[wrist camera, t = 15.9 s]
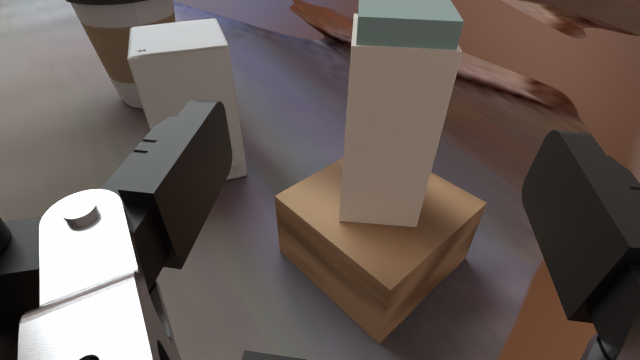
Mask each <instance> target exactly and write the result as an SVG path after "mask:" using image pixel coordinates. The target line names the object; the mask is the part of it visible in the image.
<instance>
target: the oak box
mask: <svg viewBox="0 0 640 360" xmlns="http://www.w3.org/2000/svg"><path fill="white" fill-rule="evenodd" d="M342 171H343V158H341V159H340V160H338V161H336V162H334V163H333V164H331V165H329V166H327V167H325V168H324V169H322V170H320V171H318V172H317V173H315V174H313V175H311V176H309V177H308V178H306V179H304V180H302V181H301V182H299V183H297V184H295V185H293V186H292V187H290V188H288V189H286V190H285V191H283V192H281V193H279V194H277V195H276V196H275V204H276V215H277V225H278V235H279V246H280V252H281V253H282V254H283V255H284V256H286V257H287V258H288V259H289V260H290V261H291V262H292V263H293V264H294V265H295V266H296V267H297V268H298V269H299V270H300V271H301V272H302V273H304V274H305V275H306V276H307V277H308V278H309V279H310V280H311V281H312V282H313V283H314V284H315V285H316V286H317V287H318V288H319V289H321V290H322V291H323V292H324V293H325V294H326V295H327V296H328V297H329V298H330V299H331V300H332V301H333V302H334V303H335V304H336V305H338V306H339V307H340V308H341V309H342V310H343V311H344V312H345V313H346V314H347V315H348V316H349V317H350V318H351V319H352V320H353V321H355V322H356V323H357V324H358V325H359V326H360V327H361V328H362V329H363V330H364V331H365V332H366V333H367V334H368V335H369V336H370V337H372V338H373V339H374V340H375V341H376V342H377V343H378V344H380V343H381V342H382V341H383V340H384V339H385V338H386V337H387V336H388V335H389V334H390V333H391V332H392V331H393V330H394V329H395V328H396V327H397V326H398V325H399V324H400V323H401V322H402V321H403V320H404V319H405V318H406V317H407V316H408V315H409V314H410V313H411V312H412V311H413V310H414V309H415V308H416V307H417V306H418V305H419V304H420V303H421V302H422V301H423V300H424V299H425V298H426V297H427V296H428V295H429V294H430V293H431V292H432V291H433V290H434V289H435V288H436V287H437V286H438V285H439V284H440V283H441V282H442V281H443V280H444V279H445V278H446V277H447V276H448V275H449V274H450V273H451V272H452V271H453V270H454V269H455V268H456V267H457V266H458V265H459V264H460V263H461V262H462V261H463V260H464V259H465V258H466V255H467V253H468V250H469V247H470V245H471V242H472V240H473V237H474V235H475V232H476V229H477V227H478V224H479V222H480V219H481V217H482V214H483V212H484V209H485V206H486V204H487V203H486V202H484V201H482V200H480V199H479V198H477V197H475V196H473V195H471V194H469V193H468V192H466V191H464V190H462V189H460V188H458V187H457V186H455V185H453V184H451V183H449V182H447V181H446V180H444V179H442V178H440V177H438V176H437V175H435V174H433V173H431V174H430V177H429V181H428V185H427V189H426V193H425V197H424V200H423V204H422V208H421V212H420V216H419V220H418V223H417V227H406V226H394V225H381V224H369V223H357V222H344V221H339V213H340V199H341V185H342Z"/></svg>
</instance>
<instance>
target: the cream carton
mask: <svg viewBox="0 0 640 360" xmlns="http://www.w3.org/2000/svg"><path fill="white" fill-rule="evenodd" d="M463 23H464V21H463V19H462V18H461V16H460V15H459V13H458V12H457V10H456V8H455V7H454V5H453V4H452V2H451V1H450V0H359V6H358V14H354V21H353V33H352V45H351V59H350V73H349V87H348V101H347V115H346V129H345V143H344V157H343V171H342V185H341V199H340V213H339V221H344V222H357V223H369V224H381V225H394V226H406V227H417V223H418V220H419V216H420V212H421V208H422V204H423V200H424V197H425V193H426V189H427V185H428V181H429V177H430V174H431V170H432V166H433V162H434V158H435V154H436V151H437V147H438V143H439V139H440V135H441V131H442V128H443V124H444V120H445V116H446V112H447V108H448V105H449V101H450V97H451V93H452V89H453V85H454V81H455V78H456V74H457V70H458V66H459V62H460V58H461V55H462V51H461V49H460V47H459V45H458V43H459V38H460V35H461V31H462V27H463Z"/></svg>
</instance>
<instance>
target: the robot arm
mask: <svg viewBox="0 0 640 360" xmlns="http://www.w3.org/2000/svg"><path fill="white" fill-rule="evenodd" d="M231 166H232V147H231V141H230V135H229V129H228V123H227V117H226V111H225V107H224V105H223V103H222V102H220V101H209V100H198V99H191V100H190V101H189V102H188V103H187V104H186V106H185V107H184V108H183V109H182V110H181V112H180V113H179V114H178V115H177V117H172V116H171V117H169V118H168V119H166V120H164V121H163V122H161V123H159V124H157V125H156V126H154V127H153V128H152V129H151V131H150V132H149V133H148V134H147V135H146V136H145V138H144V139H143V142H140V143H139V144H138V146H137V147H136V148H135V149H134V152H132V153H131V154H130V155H129V156H128V157H127V158H126V159H125V161H124V162H123V163H122V164H121V165H120V166H119V168H118V169H117V170H116V171H115V172H114V173H113V174H112V176H111V177H110V178H109V179H108V180H107V181H106V183H105V184H104V185H103V186H102V187H101V188H100V189H92V190H86V191H82V192H78V193H75V194H72V195H70V196H68V197H65V198H64V199H62V200H60V201H58V202H57V203H56V204H54V205H53V206H52V207H51V208H49V209H48V210H47V212H46V213H45V214H44V215H43V217H39V218H31V219H23V220H15V221H8V222H3V221H2V219H1V218H0V360H181V359H180V356H179V353H178V350H177V346H176V343H175V339H174V336H173V332H172V329H171V325H170V322H169V318H168V315H167V311H166V308H165V304H164V300H163V297H162V293H161V290H160V286H159V283H158V281H157V277H158V275H159V273H160V271H161V270H162V268H163V267H169V268H176V269H182V267H183V265H184V263H185V261H186V259H187V257H188V255H189V253H190V251H191V249H192V247H193V245H194V243H195V241H196V239H197V237H198V235H199V233H200V231H201V229H202V227H203V225H204V223H205V221H206V219H207V217H208V215H209V213H210V211H211V209H212V207H213V205H214V203H215V201H216V199H217V197H218V195H219V193H220V191H221V189H222V187H223V185H224V183H225V181H226V179H227V177H228V175H229V173H230V170H231ZM522 202H523V206H524V208H525V211H526V213H527V216H528V218H529V221H530V224H531V226H532V229H533V231H534V234H535V237H536V239H537V242H538V244H539V247H540V249H541V252H542V255H543V257H544V260H545V262H546V265H547V267H548V270H549V273H550V275H551V278H552V280H553V283H554V286H555V288H556V291H557V293H558V296H559V299H560V301H561V304H562V306H563V309H564V311H565V314H566V317H567V319H568V320H571V321H580V322H587V323H593V324H594V326H595V329H596V331H597V333H596V334H595V335H594V336H593V337H592V338H591V339H590V340H589V342H588V344H587V347H586V348H585V351H584V353H583V355H582V357H581V359H580V360H640V183H639V182H638V181H637V179H636V178H635V177H634V176H633V175H632V173H631V172H630V171H629V170H628V169H626V168H625V167H624V166H622V165H621V164H620V163H618V162H617V161H616V160H614V159H613V158H611V157H610V156H606V154H605V153H604V151H603V150H602V149H601V147H600V146H599V145H598V143H597V142H596V140H595V139H594V138H593V136H592V135H591V134H589V133H582V132H570V131H558V130H553V131H551V132H549V133H548V134H547V136H546V137H545V139H544V141H543V143H542V145H541V147H540V149H539V151H538V153H537V155H536V157H535V159H534V161H533V163H532V166H531V168H530V170H529V172H528V174H527V176H526V178H525V180H524V183H523V187H522ZM242 360H306V359H299V358H292V357H286V356H279V355H272V354H265V353H258V352H251V351H244V354H243V358H242Z"/></svg>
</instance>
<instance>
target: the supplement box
mask: <svg viewBox="0 0 640 360" xmlns="http://www.w3.org/2000/svg"><path fill="white" fill-rule="evenodd" d="M127 60H128V63H129V66H130V69H131V72H132V75H133V78H134V81H135V84H136V88H137V91H138V94H139V97H140V100H141V103H142V106H143V109H144V112H145V115H146V119H147V122H148V125H149V128H150V131H151V129H152V128H153V127H154V126H156V125H157V124H159V123H161V122H163V121H164V120H166V119H168V118H169V117H171V116H172V117H177V115H178V114H179V113H180V112H181V110H182V109H183V108H184V107H185V106H186V104H187V103H188V102H189V101H190V100H191V99H198V100H209V101H220V102H222V103H223V105H224V107H225V111H226V117H227V123H228V129H229V135H230V141H231V147H232V166H231V170H230V173H229V175H228V177H227V179H226V180H229V179H234V178H239V177H243V176H246V175H247V167H246V160H245V153H244V147H243V140H242V133H241V127H240V120H239V114H238V108H237V101H236V95H235V88H234V81H233V75H232V68H231V61H230V54H229V46H228V43H227V41H226V39H225V37H224V35H223V32H222V30H221V28H220V26H219V24H218V22H217V20H216V19H203V20H192V21H183V22H173V23H164V24H155V25H146V26H138V27H132V28H131V29H130V39H129V49H128V57H127Z"/></svg>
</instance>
